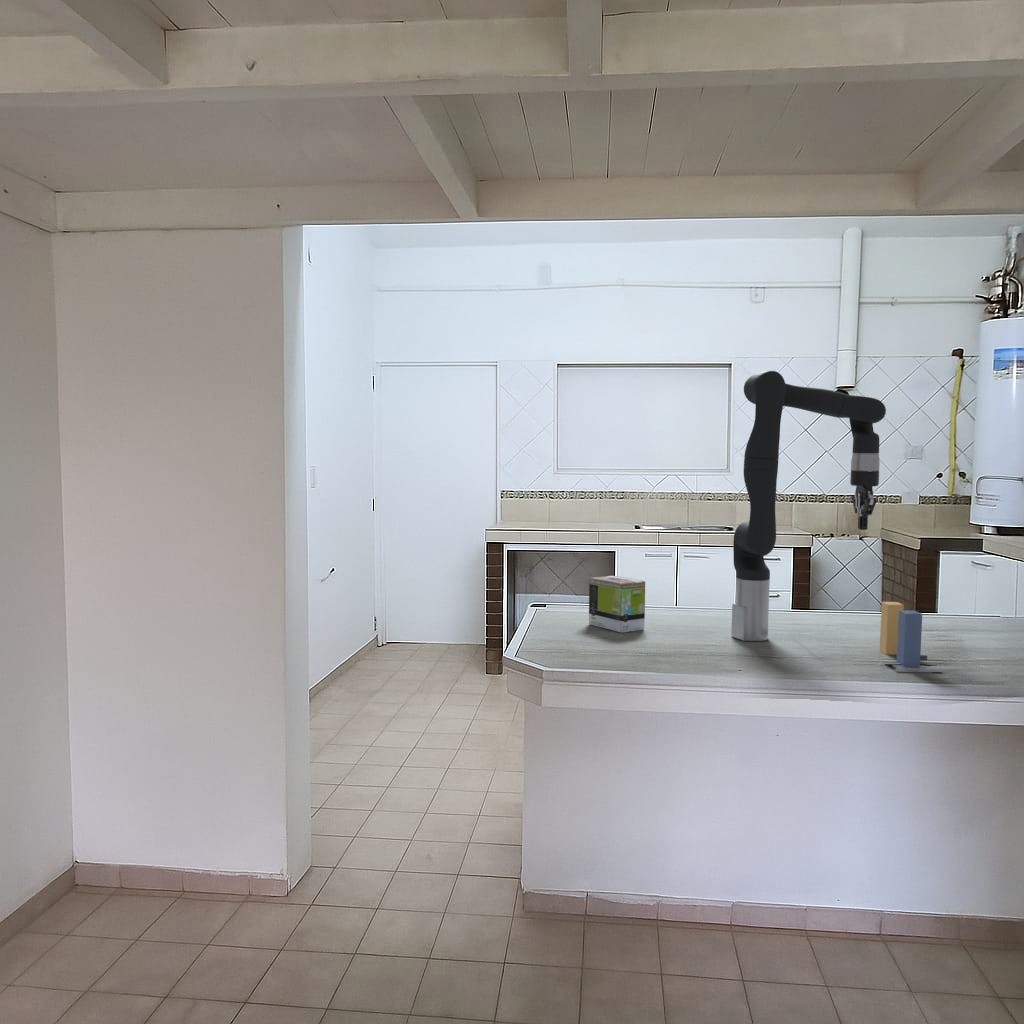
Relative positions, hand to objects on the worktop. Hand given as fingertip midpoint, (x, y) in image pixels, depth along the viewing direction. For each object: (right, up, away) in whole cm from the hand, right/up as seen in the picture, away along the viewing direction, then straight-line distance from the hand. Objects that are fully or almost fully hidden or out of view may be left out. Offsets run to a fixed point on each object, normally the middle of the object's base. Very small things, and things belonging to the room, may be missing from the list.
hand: (862, 529), depth 241 cm
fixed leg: (-1, -33, -33) cm, 47 cm away
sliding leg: (-1, -32, -23) cm, 39 cm away
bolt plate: (-1, -33, -24) cm, 41 cm away
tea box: (-69, -30, +12) cm, 77 cm away
